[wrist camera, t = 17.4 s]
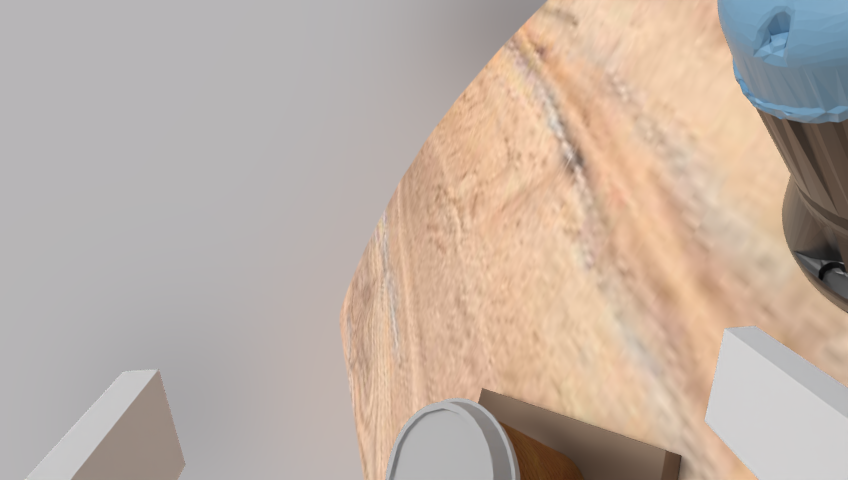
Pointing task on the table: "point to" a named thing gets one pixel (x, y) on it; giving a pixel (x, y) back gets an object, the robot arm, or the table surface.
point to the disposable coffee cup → (471, 448)
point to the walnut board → (585, 442)
